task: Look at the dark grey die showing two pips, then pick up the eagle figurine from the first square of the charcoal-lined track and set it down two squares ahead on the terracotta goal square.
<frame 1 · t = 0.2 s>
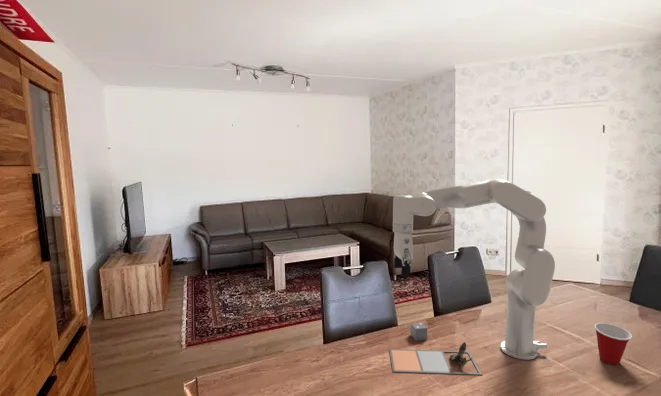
hand: (401, 271, 140), 30 cm above the table, tool pointing down, fingers open, 9 cm apart
die: (418, 337, 151), on the table
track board: (432, 361, 133), on the table
plastic cup: (610, 361, 132), on the table
eagle figurine: (459, 363, 132), on the table
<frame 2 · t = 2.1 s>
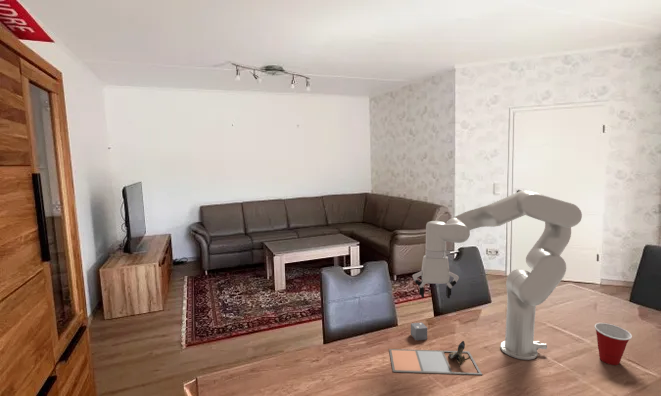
hand: (435, 296, 141), 20 cm above the table, tool pointing down, fingers open, 9 cm apart
nothing on the table moved.
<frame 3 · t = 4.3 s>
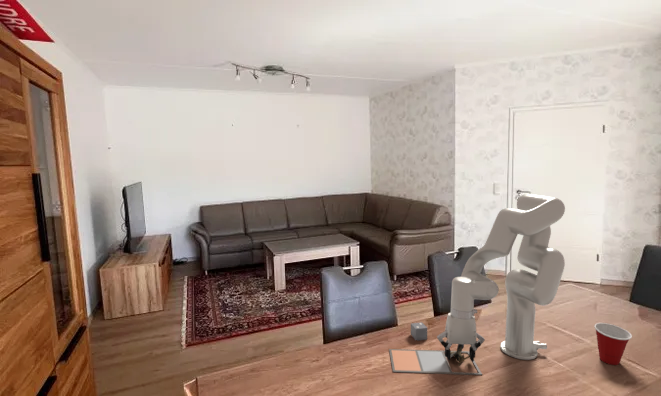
hand: (459, 358, 132), 2 cm above the table, tool pointing down, fingers open, 7 cm apart
eagle figurine: (458, 360, 134), on the table, touching gripper
everything else where it was.
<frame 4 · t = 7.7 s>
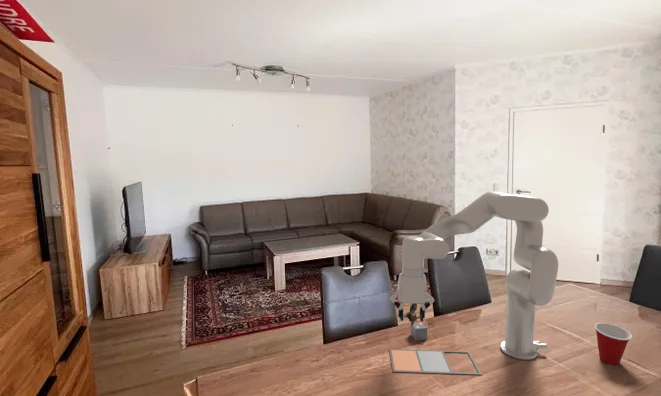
hand: (411, 319, 131), 16 cm above the table, tool pointing down, fingers closed on eagle figurine, 6 cm apart
eagle figurine: (411, 322, 133), point 14 cm above the table, touching gripper
everything else where it was.
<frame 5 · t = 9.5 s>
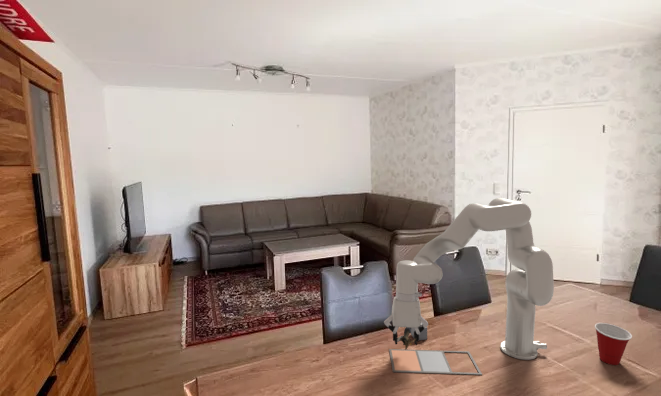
hand: (405, 342, 133), 7 cm above the table, tool pointing down, fingers closed on eagle figurine, 6 cm apart
eagle figurine: (405, 345, 134), point 5 cm above the table, touching gripper
everything else where it was.
when the fingers open (3 cm above the table, at t = 10.8 s): eagle figurine stays where it is, resting on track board.
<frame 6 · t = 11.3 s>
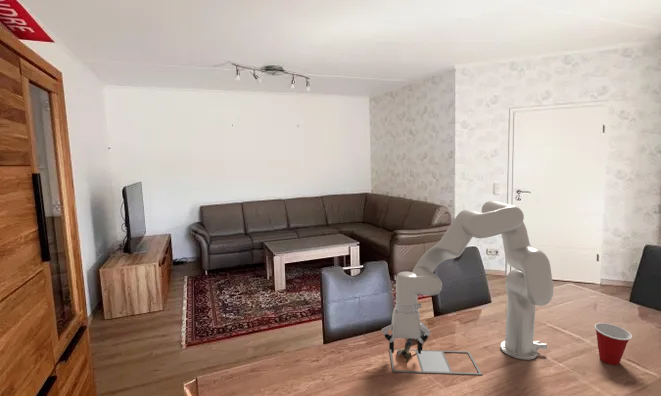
hand: (405, 351, 133), 4 cm above the table, tool pointing down, fingers open, 9 cm apart
eagle figurine: (406, 358, 135), resting on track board
everything else where it was.
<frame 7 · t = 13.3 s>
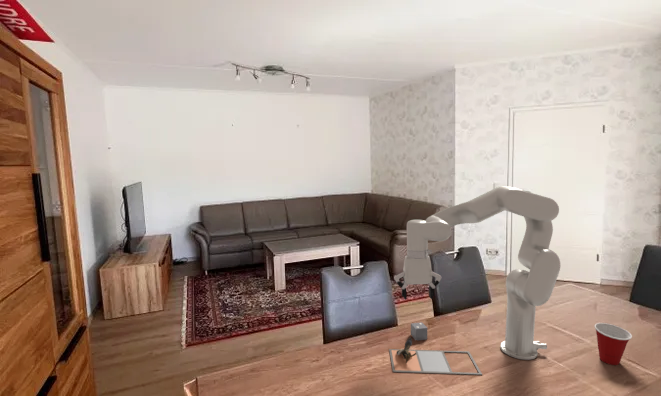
hand: (417, 297, 137), 22 cm above the table, tool pointing down, fingers open, 9 cm apart
nothing on the table moved.
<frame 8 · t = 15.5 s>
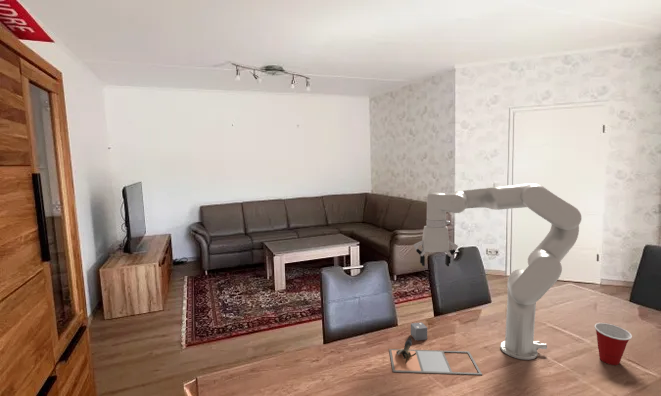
hand: (435, 265, 148), 30 cm above the table, tool pointing down, fingers open, 9 cm apart
nothing on the table moved.
at the end: eagle figurine inside the target area (1.7 cm from its centre), resting on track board; eagle figurine tilted 0°; the gripper is holding nothing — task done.
